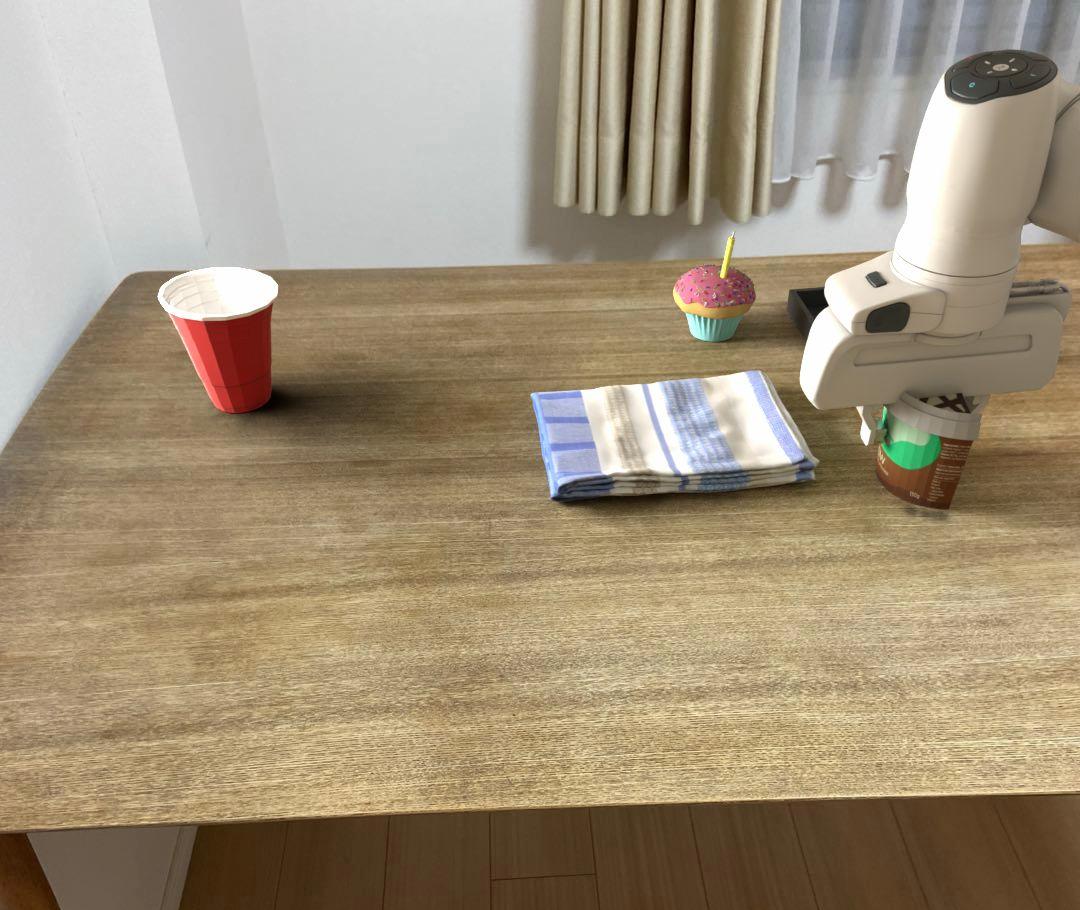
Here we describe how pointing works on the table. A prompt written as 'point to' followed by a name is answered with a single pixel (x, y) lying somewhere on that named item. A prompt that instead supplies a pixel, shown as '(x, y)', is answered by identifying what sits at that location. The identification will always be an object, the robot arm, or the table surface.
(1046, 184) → the robot arm
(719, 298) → the cupcake
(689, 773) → the table surface
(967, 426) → the food container
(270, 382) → the plastic cup
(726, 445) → the dish towel
